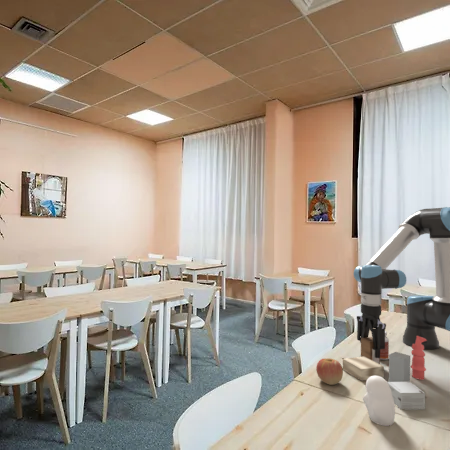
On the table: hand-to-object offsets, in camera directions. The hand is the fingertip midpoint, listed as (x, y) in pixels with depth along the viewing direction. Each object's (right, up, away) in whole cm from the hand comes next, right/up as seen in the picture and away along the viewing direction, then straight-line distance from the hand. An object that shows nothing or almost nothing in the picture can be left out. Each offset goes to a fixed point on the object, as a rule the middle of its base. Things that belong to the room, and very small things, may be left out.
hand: (370, 362), depth 133 cm
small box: (-2, 0, -30) cm, 30 cm away
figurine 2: (+13, -1, -11) cm, 17 cm away
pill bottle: (+8, -1, +8) cm, 11 cm away
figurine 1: (-15, 0, -40) cm, 43 cm away
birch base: (-7, 0, -9) cm, 11 cm away
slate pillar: (+3, 0, -17) cm, 17 cm away
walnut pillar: (0, -1, 0) cm, 1 cm away
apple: (-22, 0, -17) cm, 28 cm away
